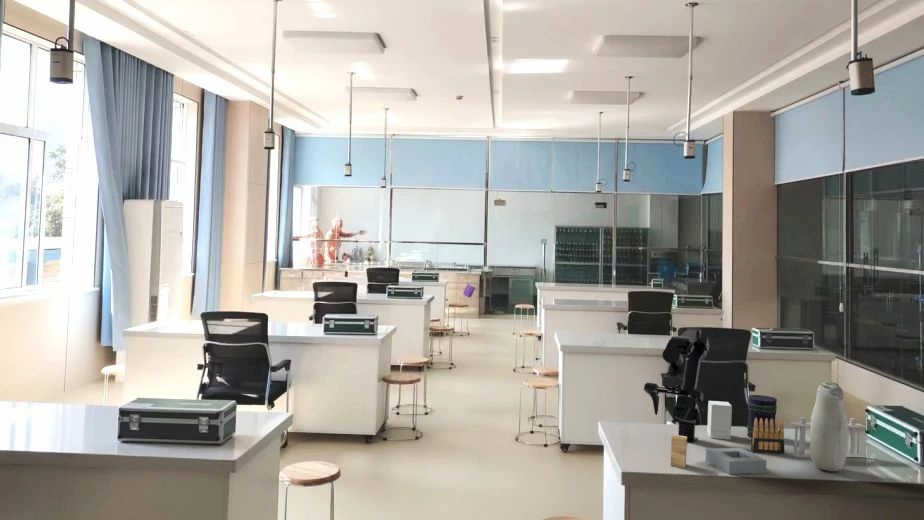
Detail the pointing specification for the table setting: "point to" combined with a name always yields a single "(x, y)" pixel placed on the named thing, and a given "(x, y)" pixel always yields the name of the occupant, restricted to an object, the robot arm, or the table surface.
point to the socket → (736, 460)
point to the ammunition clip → (768, 437)
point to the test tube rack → (804, 424)
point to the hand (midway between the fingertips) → (669, 416)
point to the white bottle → (829, 428)
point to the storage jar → (761, 411)
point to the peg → (678, 451)
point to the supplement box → (719, 420)
